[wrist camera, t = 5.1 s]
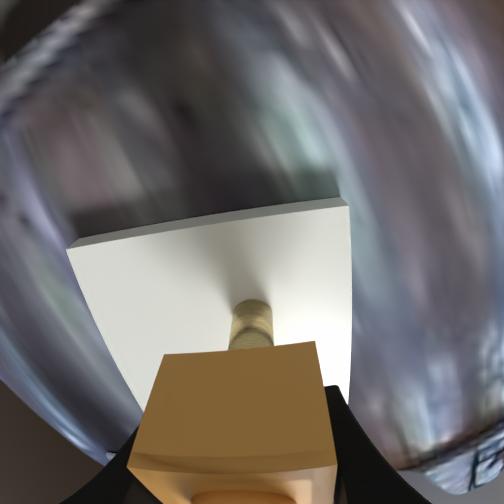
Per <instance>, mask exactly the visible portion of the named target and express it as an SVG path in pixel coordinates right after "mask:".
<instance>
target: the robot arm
mask: <svg viewBox="0 0 504 504" xmlns="http://www.w3.org/2000/svg"><path fill="white" fill-rule="evenodd" d="M324 389H325V395H326V400H327V406H328V411H329V417H330V423H331V429H332V434H333V440H334V446H335V453H336V459H337V473H336V482H335V489H334V496H333V497H334V503H335V504H432V503H430V502H429V501H428V500H426V499H425V498H424V497H423V496H422V495H421V494H420V493H418V492H417V491H416V490H415V489H414V488H413V487H412V486H410V485H409V484H408V483H407V482H406V481H405V480H404V479H403V478H402V477H401V476H400V475H399V474H398V473H397V472H396V471H395V470H394V469H393V468H392V466H391V465H390V464H389V463H388V462H387V461H386V460H385V458H384V457H383V456H382V455H381V454H380V452H379V451H378V450H377V449H376V447H375V446H374V445H373V443H372V442H371V441H370V439H369V438H368V436H367V435H366V434H365V432H364V431H363V429H362V428H361V426H360V425H359V423H358V422H357V420H356V418H355V417H354V415H353V413H352V412H351V410H350V408H349V406H348V405H347V403H346V401H345V399H344V397H343V395H342V393H341V390H340V388H339V386H338V385H330V386H324ZM139 426H140V424H139ZM139 426H138V427H137V428H136V430H135V431H134V432H133V434H132V435H131V436H130V438H129V439H128V440H127V441H126V443H125V444H124V445H123V446H122V448H121V449H120V450H119V451H118V452H117V454H116V453H109V452H108V453H107V454H106V457H107V458H108V459H109V460H110V462H109V463H108V464H107V465H106V466H105V467H104V468H103V469H102V470H101V471H100V472H99V473H98V474H97V475H96V476H95V477H94V478H93V479H91V480H90V481H89V482H88V483H87V484H86V485H84V486H83V487H82V488H81V489H80V490H78V491H77V492H76V493H74V494H73V495H72V496H70V497H69V498H67V499H66V500H64V501H63V502H61V503H60V504H163V503H162V502H161V501H160V500H159V499H158V498H157V497H156V496H154V495H153V494H152V493H151V492H150V491H149V490H148V489H147V488H146V487H145V486H144V485H143V484H142V483H141V482H140V481H139V480H138V479H137V478H136V477H135V476H134V475H133V473H132V472H131V471H130V470H129V469H128V468H127V464H128V461H129V457H130V454H131V451H132V448H133V445H134V441H135V438H136V435H137V432H138V429H139Z"/></svg>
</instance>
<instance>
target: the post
mask: <svg viewBox="0 0 504 504" xmlns="http://www.w3.org/2000/svg"><path fill="white" fill-rule="evenodd" d="M268 346H274V329H273V313H272V310H271V308H270V307H269V306H268V305H267V304H266V303H265V302H263V301H260V300H256V299H248V300H244V301H242V302H240V303H239V304H238V305H237V306H236V307H235V308H234V310H233V315H232V323H231V330H230V338H229V345H228V350H238V349H248V348H258V347H268Z"/></svg>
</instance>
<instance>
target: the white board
mask: <svg viewBox="0 0 504 504" xmlns="http://www.w3.org/2000/svg"><path fill="white" fill-rule="evenodd" d="M66 251H67V254H68V257H69V259H70V262H71V265H72V267H73V270H74V273H75V275H76V278H77V280H78V283H79V285H80V288H81V290H82V292H83V295H84V297H85V300H86V302H87V304H88V307H89V309H90V311H91V313H92V316H93V318H94V320H95V322H96V324H97V326H98V329H99V331H100V333H101V335H102V337H103V339H104V341H105V343H106V345H107V347H108V349H109V351H110V353H111V355H112V357H113V359H114V361H115V363H116V365H117V366H118V368H119V370H120V372H121V374H122V376H123V378H124V379H125V381H126V383H127V385H128V386H129V388H130V390H131V392H132V393H133V395H134V397H135V399H136V400H137V402H138V404H139V405H140V407H141V409H142V410H143V412H144V411H145V408H146V405H147V402H148V399H149V396H150V393H151V390H152V387H153V384H154V381H155V378H156V375H157V372H158V370H159V367H160V364H161V361H162V358H163V355H164V354H180V353H198V352H213V351H226V350H228V345H229V338H230V330H231V323H232V315H233V310H234V308H235V307H236V306H237V305H238V304H239V303H240V302H242V301H244V300H248V299H256V300H260V301H263V302H265V303H266V304H267V305H268V306H269V307H270V308H271V310H272V313H273V329H274V346H277V345H285V344H293V343H301V342H308V341H315V343H316V348H317V353H318V358H319V363H320V368H321V374H322V379H323V384H324V386H330V385H338V386H339V388H340V390H341V393H342V395H343V397H344V399H345V401H346V403H347V405H348V395H349V380H350V360H351V330H352V268H351V237H350V217H349V205H348V204H347V203H346V202H345V201H344V200H343V199H342V198H341V197H335V198H327V199H319V200H311V201H303V202H296V203H288V204H281V205H273V206H266V207H259V208H252V209H245V210H239V211H232V212H226V213H219V214H213V215H206V216H200V217H194V218H188V219H182V220H176V221H170V222H164V223H159V224H153V225H147V226H142V227H136V228H131V229H125V230H120V231H115V232H110V233H104V234H99V235H94V236H89V237H84V238H79V239H78V240H77V241H76V242H74V243H73V244H72V245H71V246H69V247H68V248H67V249H66Z"/></svg>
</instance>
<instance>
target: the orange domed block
mask: <svg viewBox="0 0 504 504" xmlns="http://www.w3.org/2000/svg"><path fill="white" fill-rule="evenodd" d="M127 468H128V469H129V470H130V471H131V472H132V473H133V475H134V476H135V477H136V478H137V479H138V480H139V481H140V482H141V483H142V484H143V485H144V486H145V487H146V488H147V489H148V490H149V491H150V492H151V493H152V494H153V495H154V496H156V497H157V498H158V499H159V500H160V501H161V502H162V503H163V504H332V503H333V496H334V489H335V482H336V473H337V459H336V453H335V446H334V440H333V434H332V429H331V423H330V417H329V411H328V406H327V400H326V395H325V389H324V384H323V379H322V374H321V368H320V363H319V358H318V353H317V348H316V343H315V341H308V342H301V343H293V344H285V345H277V346H268V347H258V348H248V349H238V350H226V351H213V352H198V353H180V354H164V355H163V358H162V361H161V364H160V367H159V370H158V372H157V375H156V378H155V381H154V384H153V387H152V390H151V393H150V396H149V399H148V402H147V405H146V408H145V411H144V414H143V417H142V420H141V423H140V426H139V429H138V432H137V435H136V438H135V441H134V445H133V448H132V451H131V454H130V457H129V461H128V464H127Z"/></svg>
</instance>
